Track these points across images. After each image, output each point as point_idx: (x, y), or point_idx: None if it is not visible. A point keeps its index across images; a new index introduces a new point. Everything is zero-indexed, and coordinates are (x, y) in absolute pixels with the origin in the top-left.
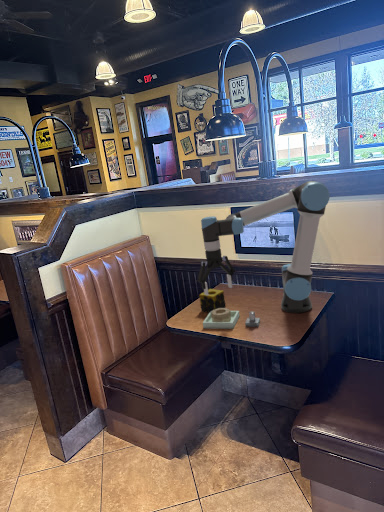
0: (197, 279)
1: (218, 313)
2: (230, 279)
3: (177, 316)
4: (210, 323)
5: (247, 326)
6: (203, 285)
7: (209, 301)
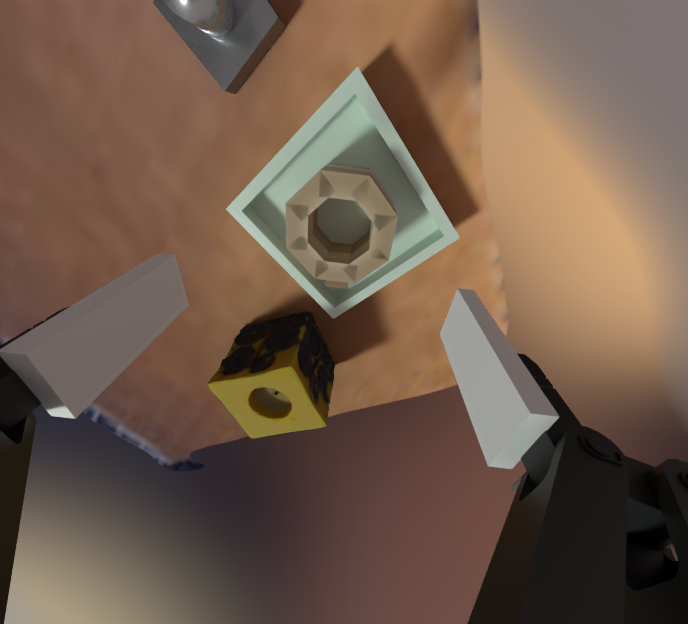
0: (660, 555)
1: (369, 215)
2: (85, 308)
3: (421, 391)
4: (436, 200)
5: (276, 13)
6: (554, 395)
7: (309, 366)
